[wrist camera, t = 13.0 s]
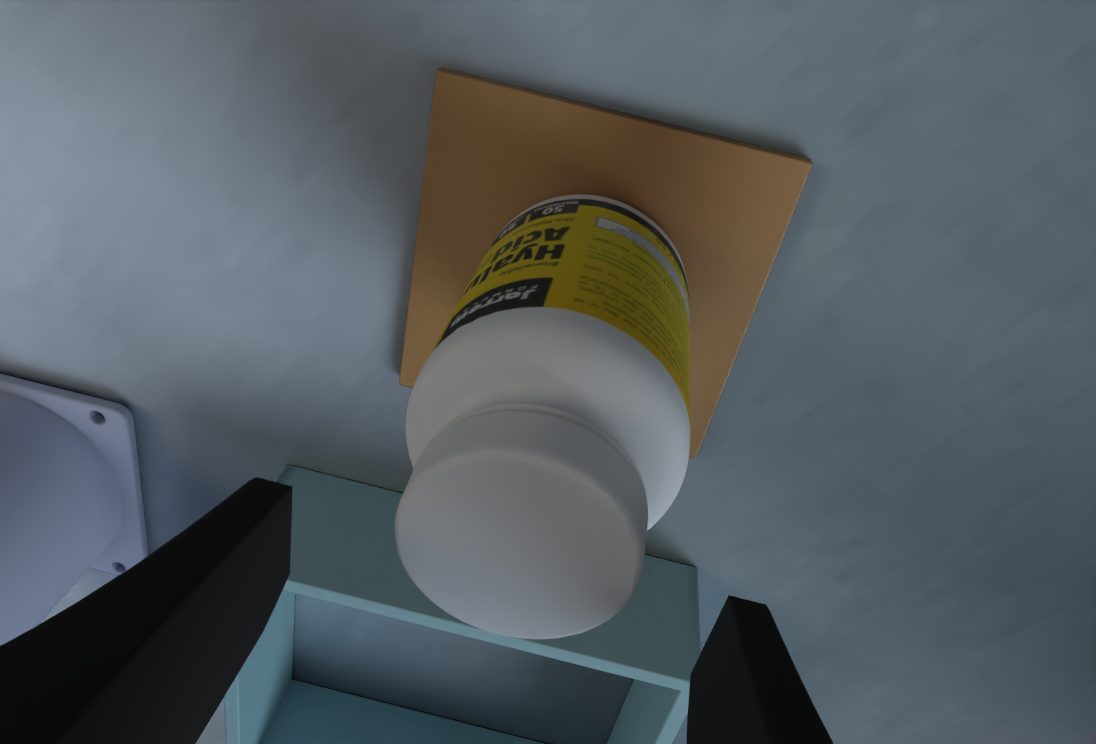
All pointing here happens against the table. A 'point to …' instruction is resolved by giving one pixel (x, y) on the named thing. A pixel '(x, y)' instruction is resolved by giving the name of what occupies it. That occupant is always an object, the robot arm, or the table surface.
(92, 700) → the robot arm
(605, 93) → the table surface
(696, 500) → the table surface
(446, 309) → the coaster
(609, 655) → the container
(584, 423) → the supplement bottle
